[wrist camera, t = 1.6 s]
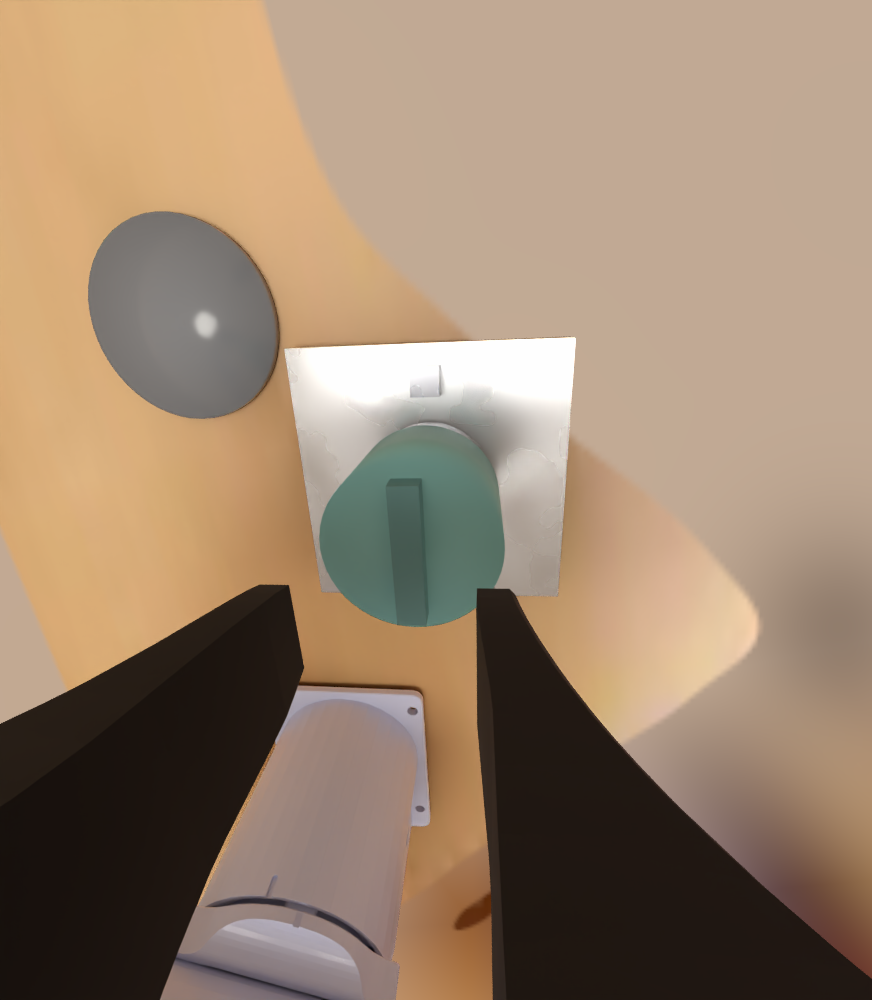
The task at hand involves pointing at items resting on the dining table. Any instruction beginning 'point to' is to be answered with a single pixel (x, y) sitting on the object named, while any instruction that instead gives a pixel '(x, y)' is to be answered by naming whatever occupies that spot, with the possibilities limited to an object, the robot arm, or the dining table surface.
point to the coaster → (183, 315)
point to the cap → (416, 528)
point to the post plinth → (475, 400)
